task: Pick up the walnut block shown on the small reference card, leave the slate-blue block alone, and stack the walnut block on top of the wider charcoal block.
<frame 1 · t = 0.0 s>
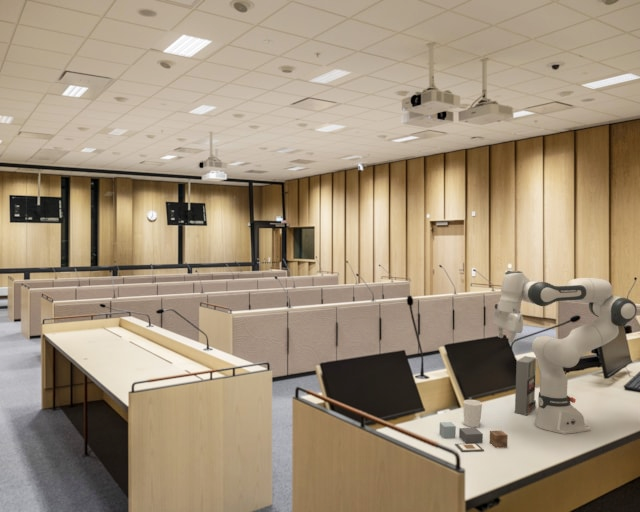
hand: (505, 339, 228), 39 cm above the table, tool pointing down, fingers open, 8 cm apart
slate-blue block: (447, 436, 219), on the table
charcoal base block: (470, 440, 215), on the table
white cup: (471, 425, 232), on the table
reference card: (469, 448, 206), on the table
walnut block: (498, 445, 210), on the table
grey box: (525, 411, 253), on the table
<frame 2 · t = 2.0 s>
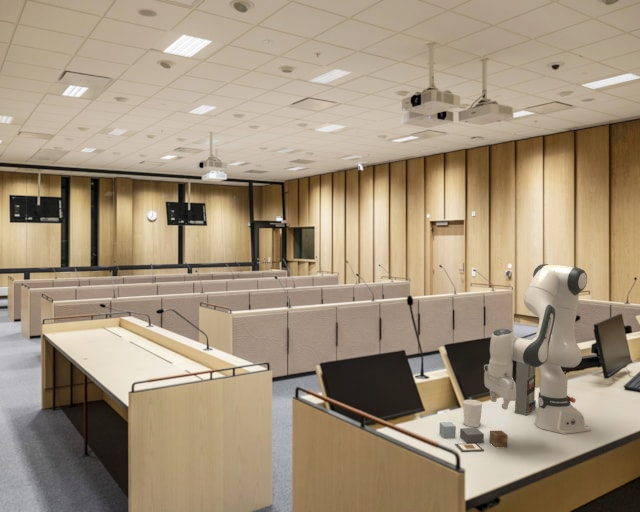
hand: (499, 405, 209), 16 cm above the table, tool pointing down, fingers open, 8 cm apart
nothing on the table moved.
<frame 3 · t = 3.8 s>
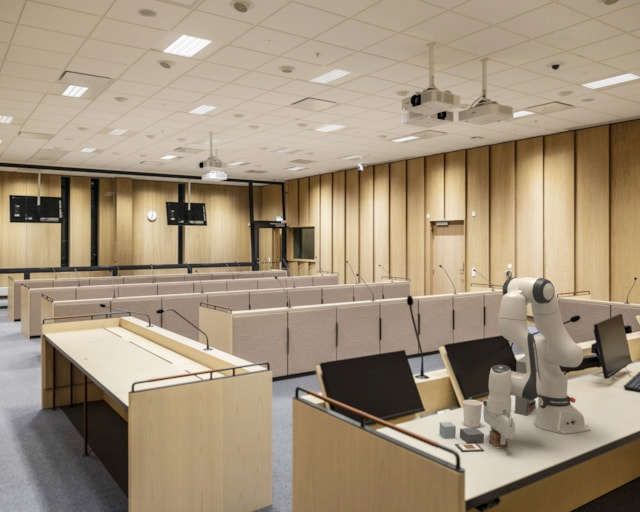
hand: (498, 440, 210), 2 cm above the table, tool pointing down, fingers closed on walnut block, 5 cm apart
walnut block: (498, 445, 210), on the table, touching gripper
everything else where it was.
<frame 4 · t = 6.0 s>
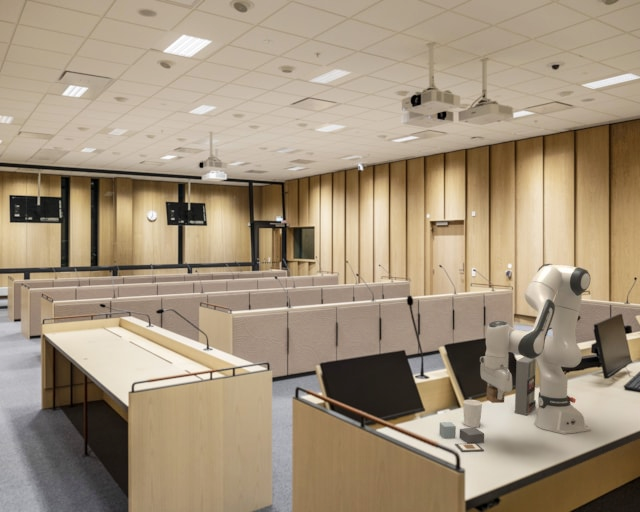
hand: (495, 396, 210), 19 cm above the table, tool pointing down, fingers closed on walnut block, 5 cm apart
walnut block: (495, 400, 210), point 18 cm above the table, touching gripper
everything else where it was.
when the fingers open (7 cm above the table, at t = 8.6 s): walnut block drops 1 cm, resting on charcoal base block.
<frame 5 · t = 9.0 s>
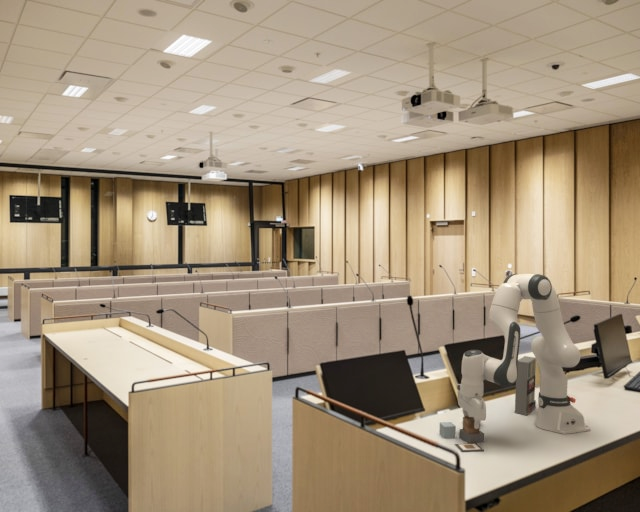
hand: (471, 423, 214), 7 cm above the table, tool pointing down, fingers open, 8 cm apart
charcoal base block: (471, 440, 214), on the table, touching walnut block
walnut block: (471, 431, 214), point 4 cm above the table, touching charcoal base block
everything else where it was.
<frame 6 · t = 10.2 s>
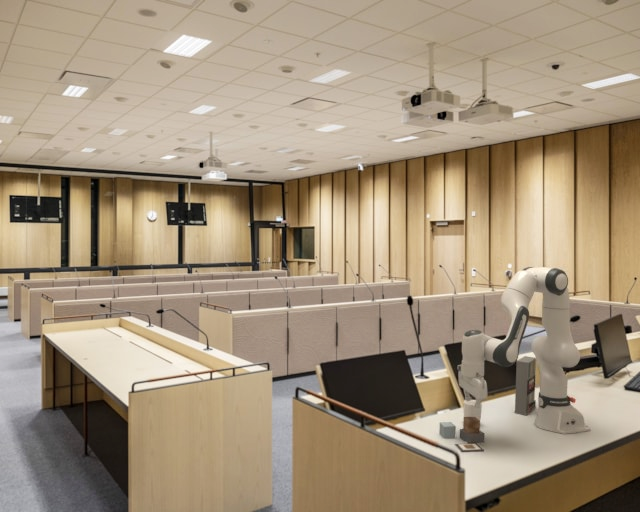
hand: (472, 404, 214), 15 cm above the table, tool pointing down, fingers open, 8 cm apart
nothing on the table moved.
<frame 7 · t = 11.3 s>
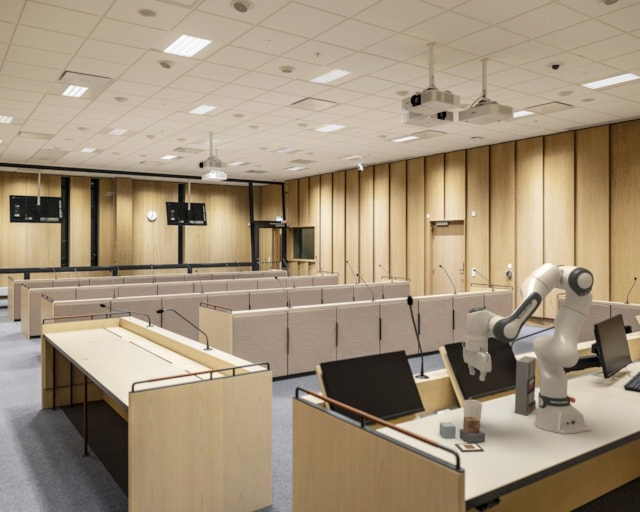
hand: (477, 377, 226), 23 cm above the table, tool pointing down, fingers open, 8 cm apart
nothing on the table moved.
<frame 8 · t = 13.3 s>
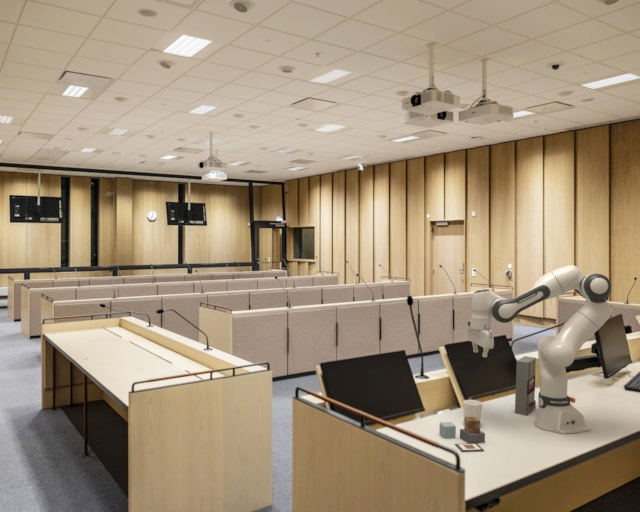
hand: (480, 354, 241), 29 cm above the table, tool pointing down, fingers open, 8 cm apart
nothing on the table moved.
at the end: walnut block 0.4 cm off-centre on the charcoal base block, point 4.0 cm above the charcoal base block's base; walnut block tilted 0°; slate-blue block moved 0.1 cm from its start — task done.
